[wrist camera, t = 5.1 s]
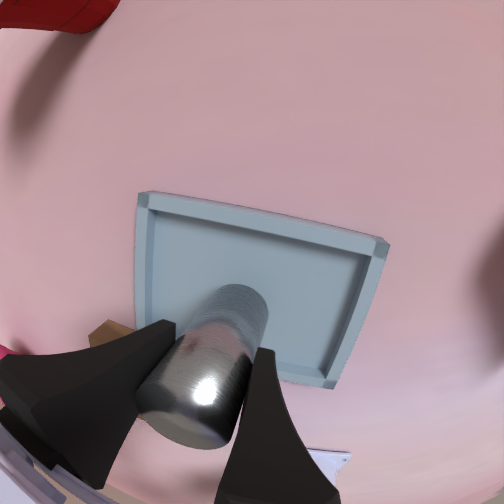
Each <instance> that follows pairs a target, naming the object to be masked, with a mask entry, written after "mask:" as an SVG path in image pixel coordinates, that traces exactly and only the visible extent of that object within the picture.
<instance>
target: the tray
mask: <svg viewBox="0 0 504 504" xmlns="http://www.w3.org/2000/svg"><path fill="white" fill-rule="evenodd" d="M389 247H390V244H388V243H387V242H386V241H385V240H384V239H383V238H381V237H377V236H373V235H369V234H365V233H361V232H357V231H353V230H349V229H345V228H341V227H336V226H332V225H328V224H324V223H319V222H315V221H311V220H306V219H302V218H297V217H292V216H288V215H283V214H278V213H274V212H269V211H264V210H259V209H254V208H249V207H244V206H239V205H233V204H228V203H223V202H217V201H212V200H206V199H200V198H195V197H189V196H183V195H177V194H171V193H164V192H158V191H147V192H141V193H138V202H137V215H136V232H135V268H134V281H135V317H136V331H137V330H139V329H141V328H144V327H146V326H148V325H150V324H152V323H155V322H157V321H159V320H162V319H165V320H168V321H171V322H174V323H176V340H177V339H178V338H179V336H180V335H181V334H182V333H183V331H184V330H185V329H186V328H187V326H188V325H189V324H190V323H191V321H192V320H193V319H194V317H195V316H196V315H197V314H198V312H199V311H200V310H201V309H202V307H203V306H204V305H205V304H206V302H207V301H208V300H209V299H210V297H211V296H212V295H213V294H214V292H215V291H216V290H218V289H219V288H220V287H222V286H225V285H228V284H242V285H246V286H248V287H251V288H252V289H254V290H255V291H257V292H258V293H259V294H260V295H261V296H262V297H263V299H264V300H265V302H266V304H267V307H268V311H269V317H268V322H267V325H266V329H265V332H264V335H263V339H262V342H261V346H260V347H262V348H267V349H271V350H274V351H275V353H276V355H275V358H276V369H277V375H278V380H283V381H288V382H293V383H298V384H303V385H309V386H314V387H320V388H327V389H334V387H335V385H336V383H337V381H338V379H339V377H340V375H341V373H342V371H343V369H344V367H345V364H346V362H347V360H348V358H349V356H350V354H351V351H352V349H353V347H354V344H355V342H356V340H357V338H358V335H359V333H360V330H361V328H362V325H363V323H364V320H365V318H366V315H367V313H368V310H369V307H370V305H371V302H372V299H373V297H374V294H375V291H376V288H377V285H378V282H379V279H380V276H381V273H382V270H383V267H384V264H385V261H386V257H387V254H388V250H389Z"/></svg>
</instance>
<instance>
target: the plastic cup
mask: <svg viewBox="0 0 504 504" xmlns="http://www.w3.org/2000/svg"><path fill="white" fill-rule="evenodd" d="M119 1H120V0H0V29H1V28H21V29H36V30H47V31H54V30H56V31H62V32H68V33H74V34H77V33H80V34H83V33H86V32H90V31H91V30H93V29H94V28H96V27H97V26H99V25H100V24H101V23H102V22H103V21H104V20H106V19H107V18H108V17H109V16H110V14H111V13H112V12H113V11H114V9H115V8H116V7H117V5H118V3H119Z"/></svg>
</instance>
